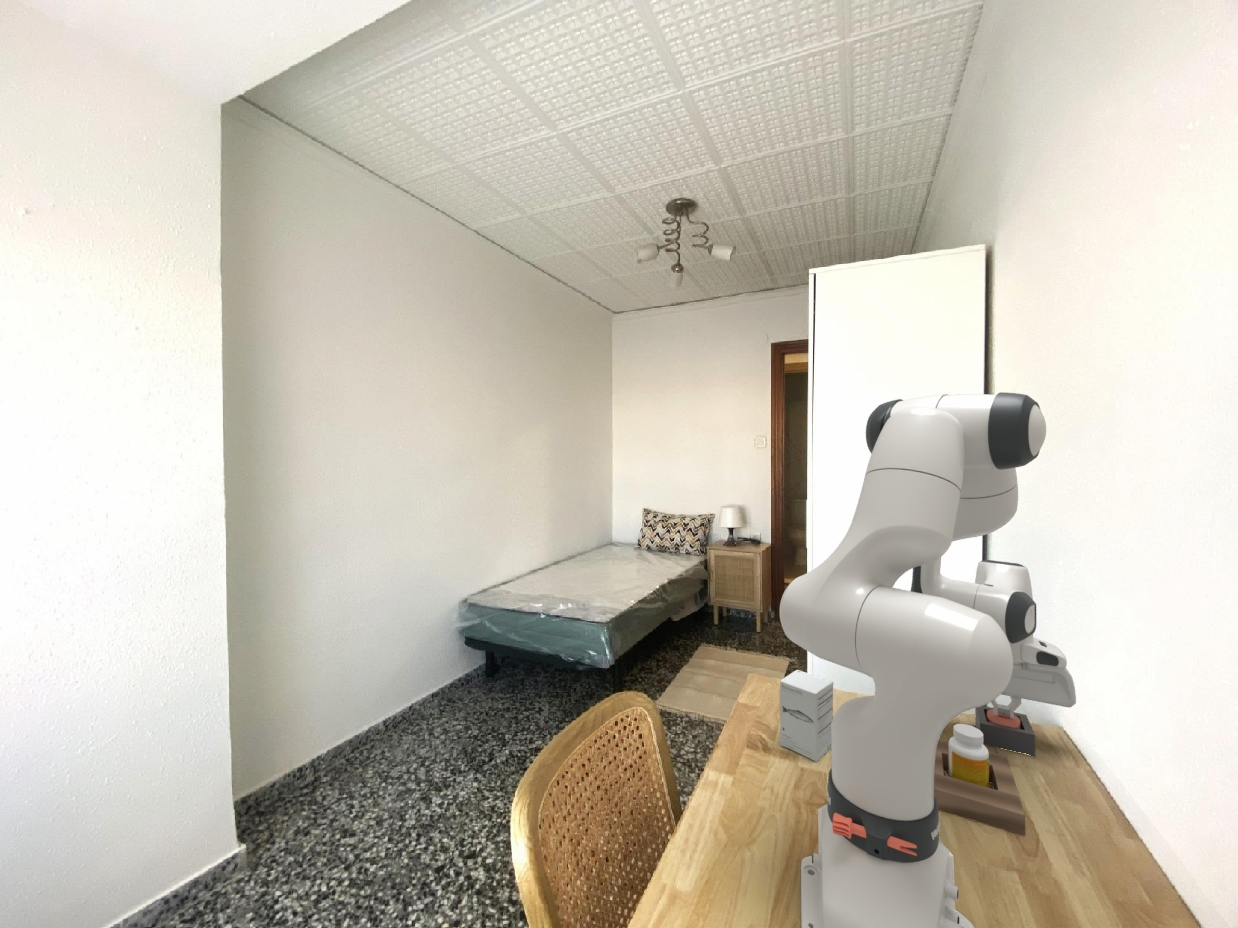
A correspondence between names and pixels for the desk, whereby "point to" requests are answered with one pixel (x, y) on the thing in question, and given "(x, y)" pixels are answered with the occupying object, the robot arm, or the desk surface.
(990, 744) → the button box
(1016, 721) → the button
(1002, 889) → the desk surface
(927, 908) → the robot arm
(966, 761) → the supplement bottle
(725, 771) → the desk surface
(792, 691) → the supplement box
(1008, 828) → the brown bottle holder
